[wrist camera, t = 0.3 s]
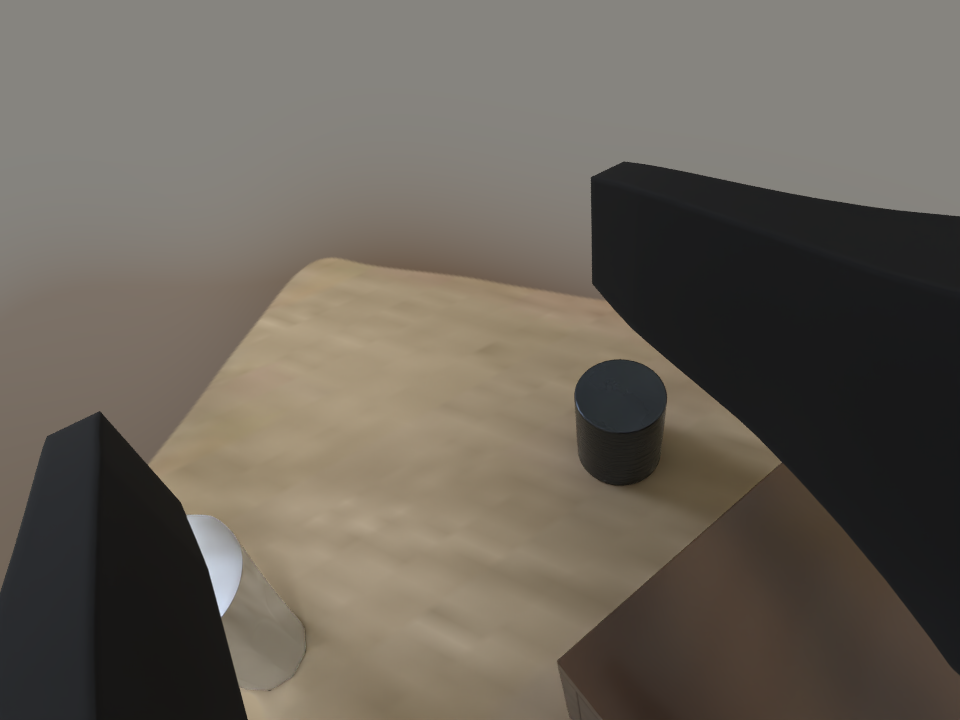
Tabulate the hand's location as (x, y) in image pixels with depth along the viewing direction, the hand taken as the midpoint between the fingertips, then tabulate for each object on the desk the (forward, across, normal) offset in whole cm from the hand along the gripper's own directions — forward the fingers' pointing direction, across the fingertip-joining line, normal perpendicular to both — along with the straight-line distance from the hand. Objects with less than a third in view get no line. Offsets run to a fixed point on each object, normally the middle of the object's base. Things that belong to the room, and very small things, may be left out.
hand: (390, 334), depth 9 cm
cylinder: (+7, -10, +20) cm, 24 cm away
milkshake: (+9, +7, +21) cm, 24 cm away
